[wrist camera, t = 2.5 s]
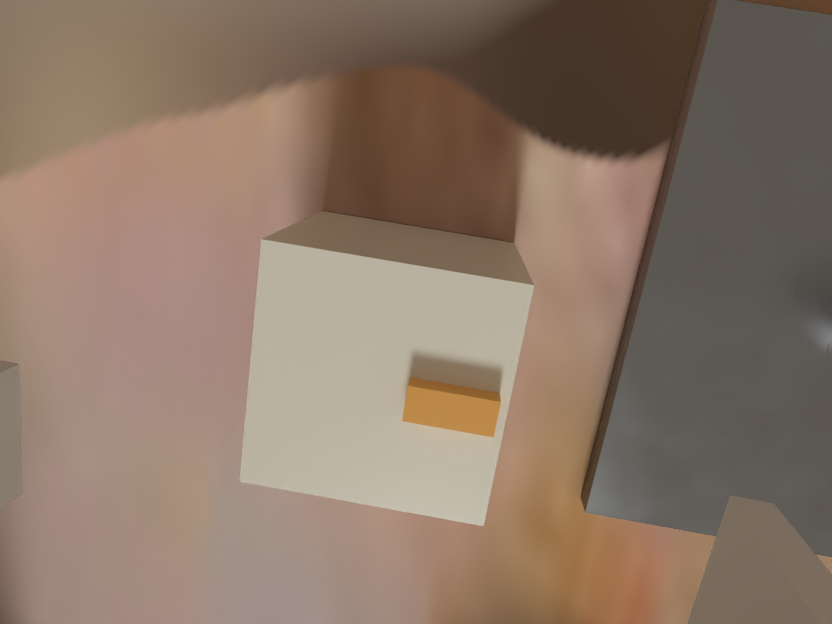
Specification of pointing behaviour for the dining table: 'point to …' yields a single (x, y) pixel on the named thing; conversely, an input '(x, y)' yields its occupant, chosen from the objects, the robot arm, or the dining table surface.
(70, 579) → the dining table surface
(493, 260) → the white box
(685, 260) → the panel
